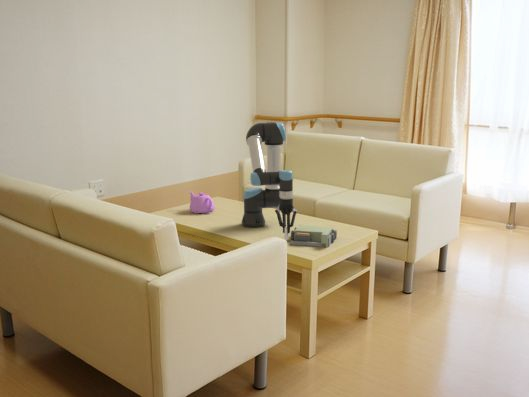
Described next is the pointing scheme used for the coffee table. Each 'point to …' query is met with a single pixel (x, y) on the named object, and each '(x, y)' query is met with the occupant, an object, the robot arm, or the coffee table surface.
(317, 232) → the green wheeled box
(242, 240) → the coffee table surface
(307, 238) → the orange striped grey block
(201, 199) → the teapot
